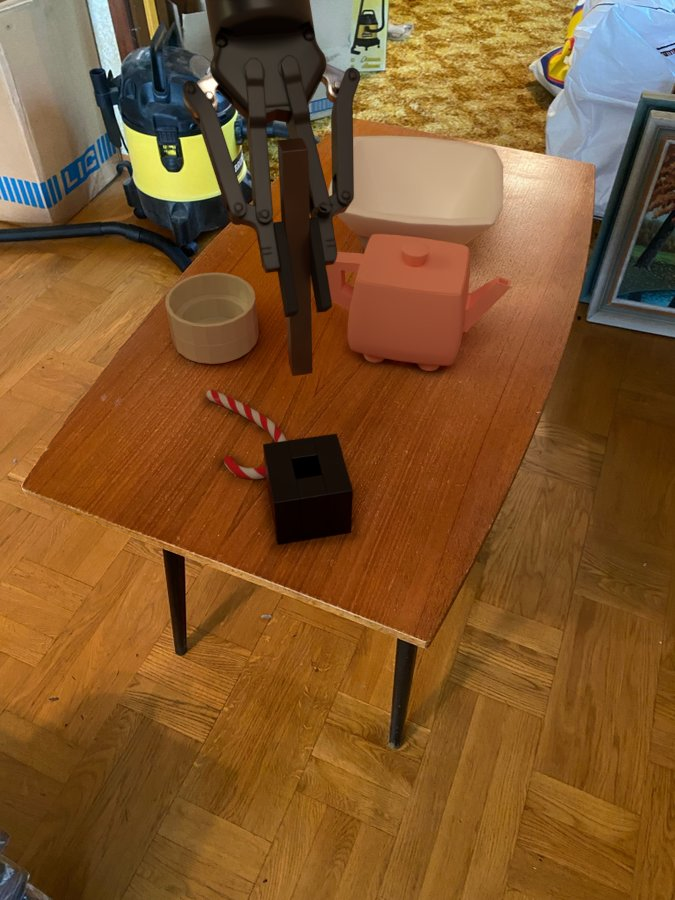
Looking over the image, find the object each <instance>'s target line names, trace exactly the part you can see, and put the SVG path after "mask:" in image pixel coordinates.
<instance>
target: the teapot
mask: <svg viewBox="0 0 675 900" xmlns="http://www.w3.org/2000/svg"><path fill="white" fill-rule="evenodd" d="M337 253H338V254H337V258H336V261H335V262H334V264H333V265H327V276H328V282H329V288H330V294H331V301H332V303H335V304H336V305H338V306H340V307H341V308H343V309H345V310H346V311H348V318H347V343H348V346H349V349H350V350H351V351H353V352H356V353H358V354H362V355H363V357H364V359H365V360H366V361H368V362H370V363H381V362H383V361H384V360H385V359H386V360H391V361H397V362H404V363H411V364H412V363H413V364H417V365H418V367H419V368H420V369H421V370H423V371H426V372H428V371H429V372H432V371H436V370H438V369H439V368H440V366H452V365H453V364H454V362H455V360H456V358H457V356H458V353H459V351H460V346H461V343H462V338H463V335H464V333H467V332H469V330H470V329H471V328H472V327H473V326H474V325H475V324H476V323H477V322H478V321H479V320H480V319H481V318H482V317H483V316H484V315H485V314H486V313H487V312H488V311H489V310H490V309H491V308H492V307H493V306H494V305H495V304H496V303H498V301H499V300H500V299H501V298H502V297H503V296H504V295H505V294H506V293H507V292H509V290H510V289H511V283H512V280H511V279H508V278H505V277H503V276H498V275H496V277H495V278H493V279H491V280H490V281H487V283H485V284H483V285H481V286H480V287H478V288H477V289H475V290H473V291H472V292H469V291H470V290H469V289H470V274H471V272H470V270H471V267H470V266H471V265H470V264H471V260H470V259H471V258H470V256H471V255H470V247H469V246H467V245H466V244H465V245H461V244H456V243H451V242H445V241H439V240H432V239H425V238H418V237H409V236H400V235H389V234H373V235H372V236H371V237H370V239H369V241H368V244H367V246H366V249H365V251H364V252H363V253H358V252H345V251H337ZM346 272H350V273H355V274H356V277H355V281H354V286H353V285H351V284H350V283H348V282H346Z"/></svg>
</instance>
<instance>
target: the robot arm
mask: <svg viewBox="0 0 675 900" xmlns="http://www.w3.org/2000/svg"><path fill="white" fill-rule="evenodd" d="M204 4H205V10H206V16H207V23H208V28H209V34H210V41H211V46H212V52H213V56H212V59H211V62H210V65H209V68H210V69H209V70H210V72H209V73H207V74H206V75H204V76H203V77H202V78H200V79H198V81H194V80H187V81H185V82H184V83H183V85H182V98H183V99H182V100H183V107H184V109H185V110H186V111H187V113H188V114H189V116H190V117H191V118H192V119H193V121H194V122H195V124H196V125H197V126H198V128H199V130H200V133H201V136H202V138H203V142H204V145H205V148H206V152H207V154H208V157H209V160H210V164H211V168H212V170H213V173H214V176H215V179H216V183H217V185H218V189H219V192H220V195H221V197H222V201H223V204H224V207H225V210H226V213H227V217H228V219H229V221H230V223H231V224H233V225H235V226H246V227H250V228H251V229H253V230H254V232H255V234H256V238H257V244H258V250H259V257H260V261H261V267H262V269H263V271H264V272H265V274H271V273H277V278H278V283H279V290H280V296H281V300H282V308H283V313H284V318H286V317H292V316H295V315H296V314H297V313H298V312H299V307H298V301H297V295H296V289H295V283H294V277H293V271H292V265H291V259H290V253H289V246H288V240H287V234H286V231H285V225H284V221H281V220H280V221H274V209H273V208H274V206H273V194H272V182H271V167H270V155H269V143H268V142H269V141H268V129H267V127H268V125H267V124H270V123H272V122H281V123H285V126H286V131H287V134H288V136H289V137H290V139H296V138H303V139H304V141H305V143H306V145H307V148H308V150H309V201H310V268H311V287H312V291H313V297H314V304H315V309H316V313H317V314H319V313H327V312H328V311H329V310H330V309H332V307H333V301H331V294H330V288H329V282H328V269H327V266H328V265H333V264H334V262H335V261H336V258H337V254H338V253H337V252H338V246H337V241H336V234H335V229H334V221H333V219H334V217H335V216H337V215H338V214H339V213H343V212H345V211H346V210H347V208H348V207H349V205H350V204H351V202H352V201H353V198H354V163H353V138H354V103H353V102H354V98H355V96H356V92H357V89H358V88H359V87H358V86H359V84H360V81H361V73H360V71H359V69H357V68H356V67H348V68H347V69H346V70H345V71H344V70H342V69H340V68H338V67H336V66H334V65H331V64H329V63H327V58H326V55H325V53H324V52H323V51H322V49H321V48H320V46H319V44H318V42H317V38H316V37H317V36H316V31H315V25H314V19H313V12H312V5H311V0H204ZM321 83H322V84H323V85H324V86H325V95H326V98H327V100H328V101H329V102H330V103H333V104H332V106H331V107H332V108H331V114H330V137H331V138H330V143H331V146H330V147H331V180H332V195H331V196H329V191H328V190H329V189H328V186H327V183H326V179H325V174H324V170H323V166H322V162H321V158H320V154H319V150H318V146H317V143H316V142H317V141H316V139H315V134H314V130H313V126H312V122H311V112H310V108H309V107H310V104H311V102H312V100H313V98H314V96H315V94H316V91H317V90H318V88H319V86H320V84H321ZM218 92H219V94H221V95H222V96H223V97H224V99H225V100H226V101H228V103H229V104H230V105H231V106H232V107H233V108H234V109H235V111H237V112H238V113H239V115H240V116H241V117H242V118H244V120H245V128H246V138H247V146H248V147H247V148H248V160H249V171H250V187H251V199H252V204H251V203H247V202H246V199H245V197H244V193H243V190H242V188H241V184H240V181H239V178H238V175H237V171H236V168H235V166H234V163H233V162H234V161H233V159H232V156H231V153H230V150H229V146H228V144H227V141H226V136H225V134H224V131H223V128H222V125H221V122H220V118H219V116H218V112H217V110H218V107H219V99H218V96H217V93H218Z"/></svg>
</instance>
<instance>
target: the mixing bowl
mask: <svg viewBox="0 0 675 900" xmlns="http://www.w3.org/2000/svg"><path fill="white" fill-rule="evenodd" d="M164 302H165V310H166V316H167V321H168V325H169V331H170V336H171V339H172V344H173V346H174V348H175V350H176V351H177V353H178V354H180V355H181V356H182V357H184V358H185V359H186V360H190V361H192V362H196V363H199V364H208V365H216V364H225V363H228V362H232V361H234V360H237V359H240V358H241V357H243V356H245V355H246V354H248V353H249V352H250V351H251V350H252V349H253V348H254V347H255V346H256V345H257V342H258V339H259V336H260V332H259V321H258V320H259V319H258V310H257V299H256V292H255V289H254V288H253V287H252V285H251V283H250V282H249V281H246V280H245V279H244V278H242V277H240V276H237V275H233V274H231V273H226V272H216V271H215V272H201V273H199V274H195V275H190V276H188V277H186V278H184V279H182V280H180V281H178V282H177V283H176V284H174V286H172V287H171V288H170V289H169V291H168V292H167V295H166V296H165V301H164Z"/></svg>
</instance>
